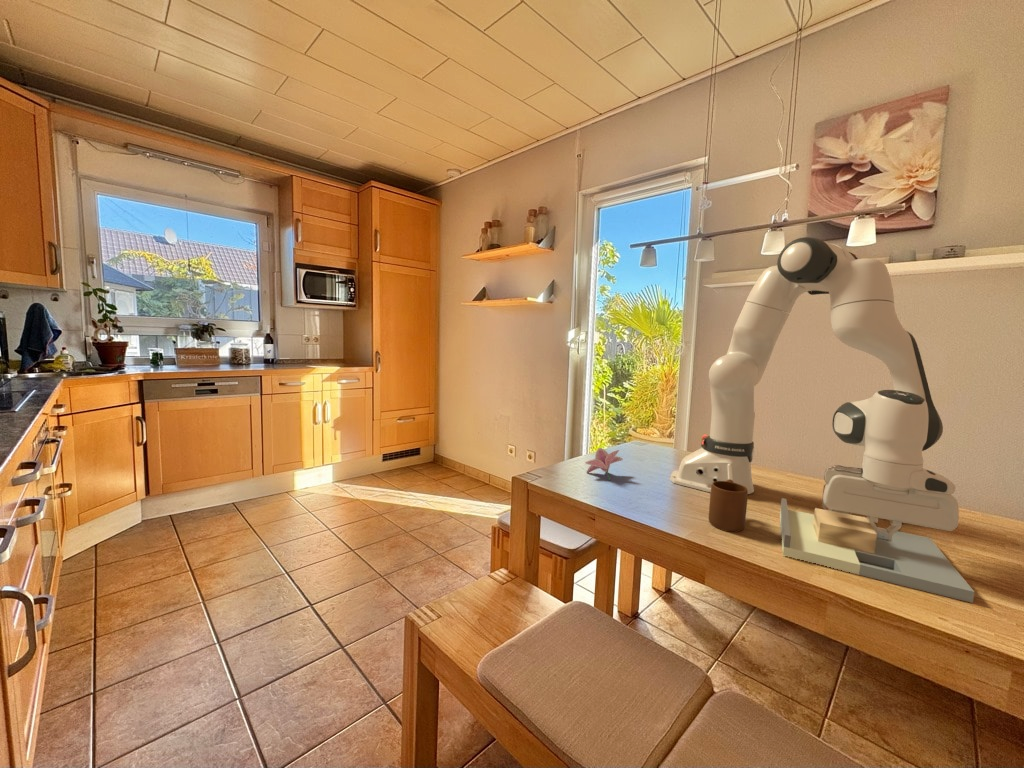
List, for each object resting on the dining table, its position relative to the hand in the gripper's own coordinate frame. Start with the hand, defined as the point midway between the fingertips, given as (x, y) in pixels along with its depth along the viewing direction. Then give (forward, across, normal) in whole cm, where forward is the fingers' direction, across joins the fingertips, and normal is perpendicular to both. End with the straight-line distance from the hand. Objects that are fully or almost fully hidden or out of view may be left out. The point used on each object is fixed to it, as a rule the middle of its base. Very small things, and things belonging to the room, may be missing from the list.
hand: (881, 538), depth 85 cm
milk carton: (+4, -5, +21) cm, 22 cm away
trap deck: (+4, -3, 0) cm, 5 cm away
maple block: (+2, -6, 0) cm, 7 cm away
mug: (+4, -28, 0) cm, 28 cm away
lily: (+4, -63, +15) cm, 65 cm away
